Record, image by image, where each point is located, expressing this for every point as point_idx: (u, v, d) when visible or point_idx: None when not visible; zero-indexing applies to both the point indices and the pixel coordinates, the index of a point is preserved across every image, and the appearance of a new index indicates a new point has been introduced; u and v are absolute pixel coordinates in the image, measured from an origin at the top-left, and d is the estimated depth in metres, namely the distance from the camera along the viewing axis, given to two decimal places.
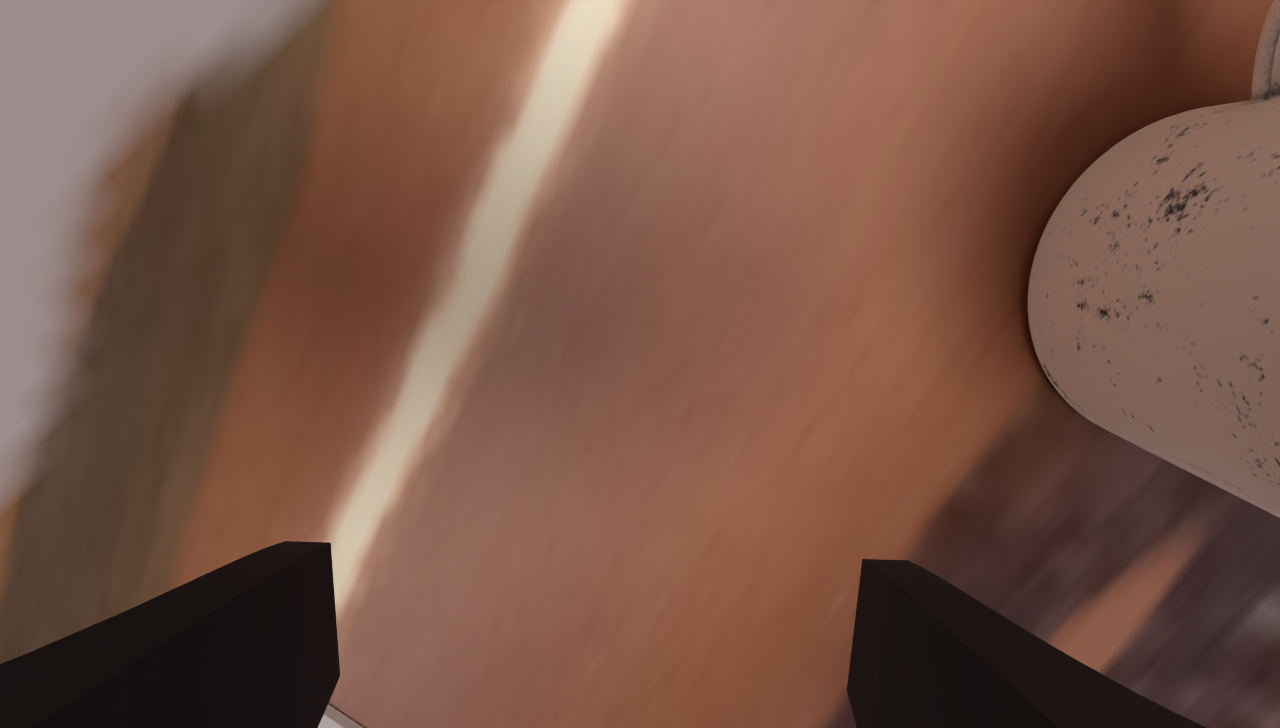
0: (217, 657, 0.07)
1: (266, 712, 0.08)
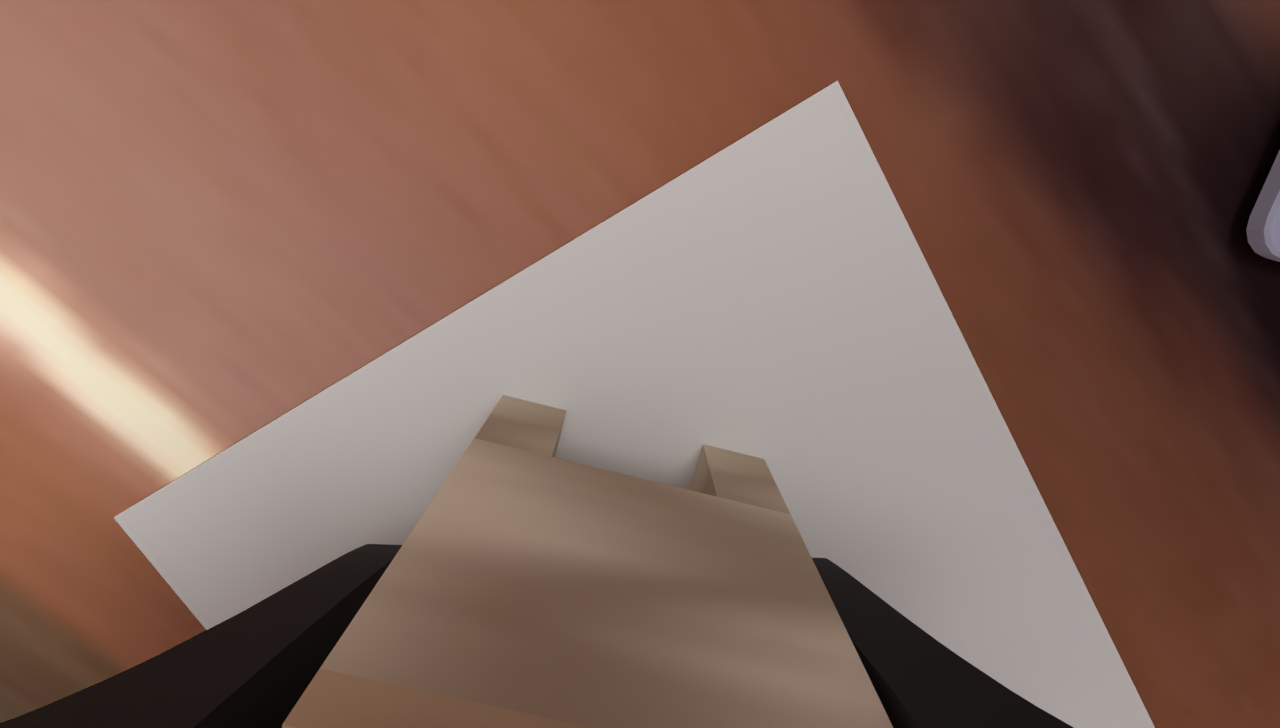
0: None
1: None
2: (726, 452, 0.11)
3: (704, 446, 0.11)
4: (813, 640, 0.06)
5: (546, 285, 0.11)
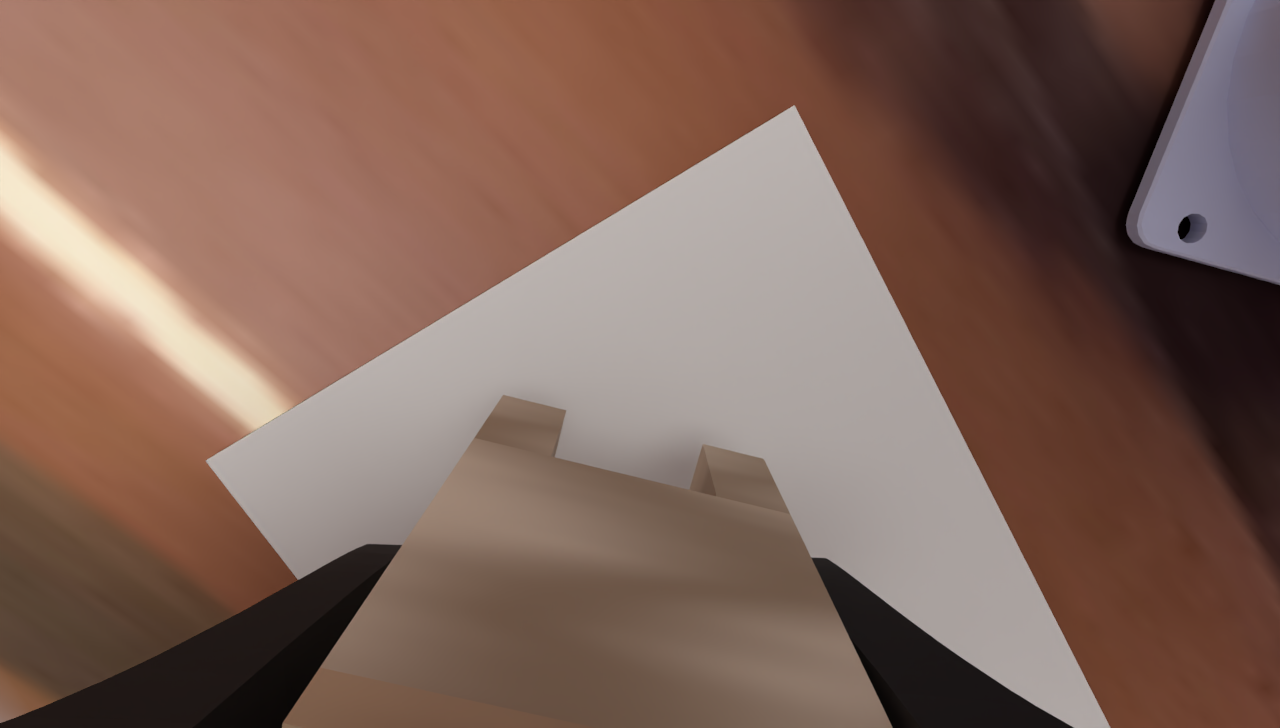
0: None
1: None
2: (726, 452, 0.11)
3: (704, 446, 0.11)
4: (813, 640, 0.06)
5: (561, 269, 0.13)
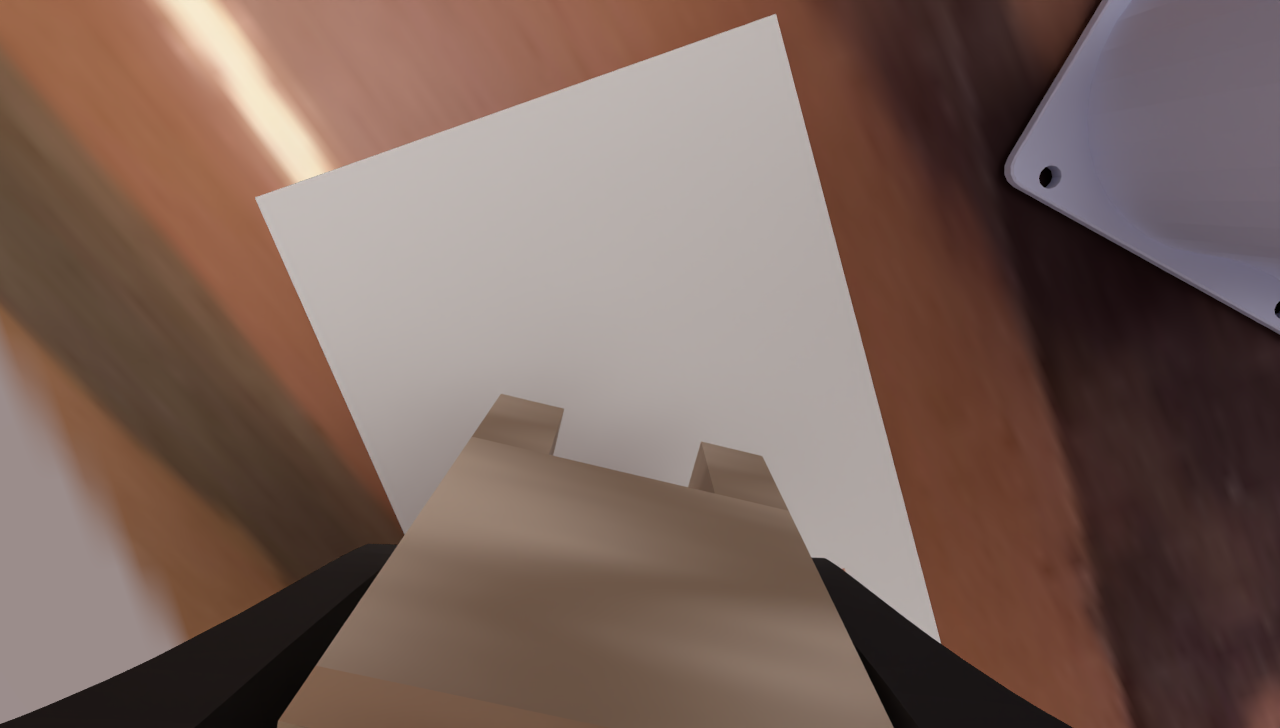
0: None
1: None
2: (724, 449, 0.11)
3: (702, 443, 0.11)
4: (811, 636, 0.06)
5: (572, 103, 0.17)
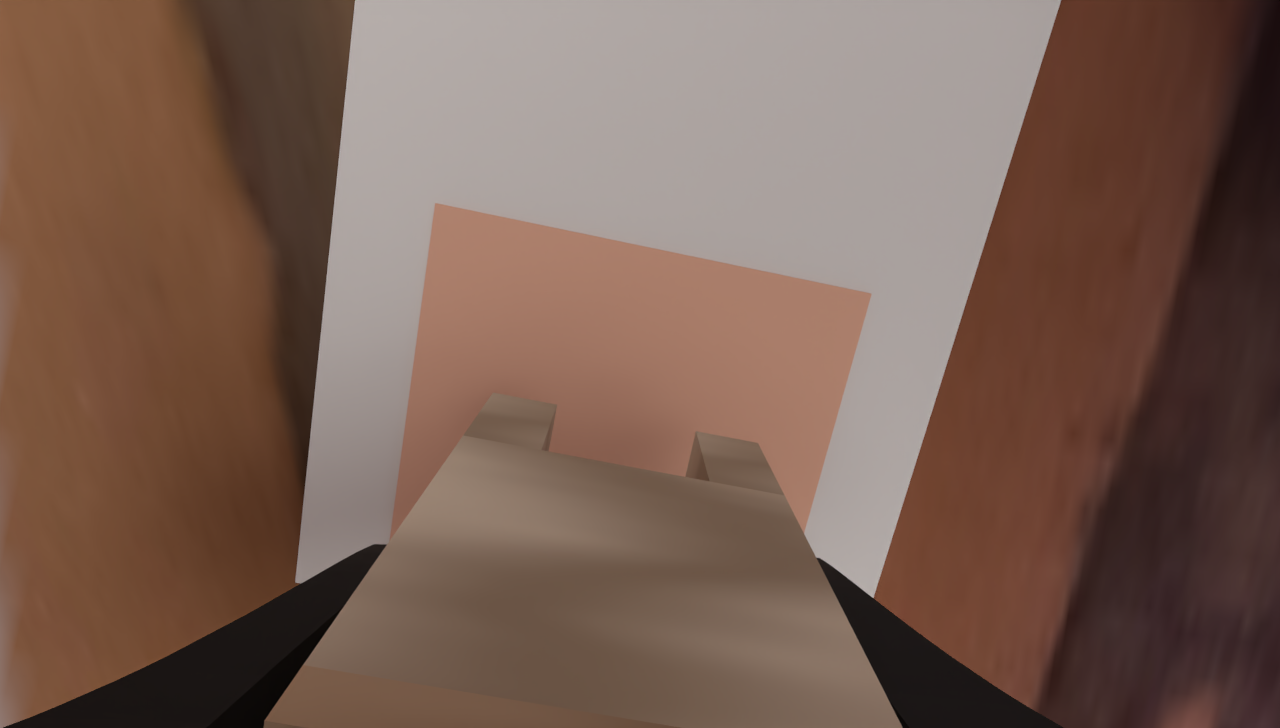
0: None
1: None
2: (719, 438, 0.11)
3: (697, 433, 0.11)
4: (806, 617, 0.06)
5: None
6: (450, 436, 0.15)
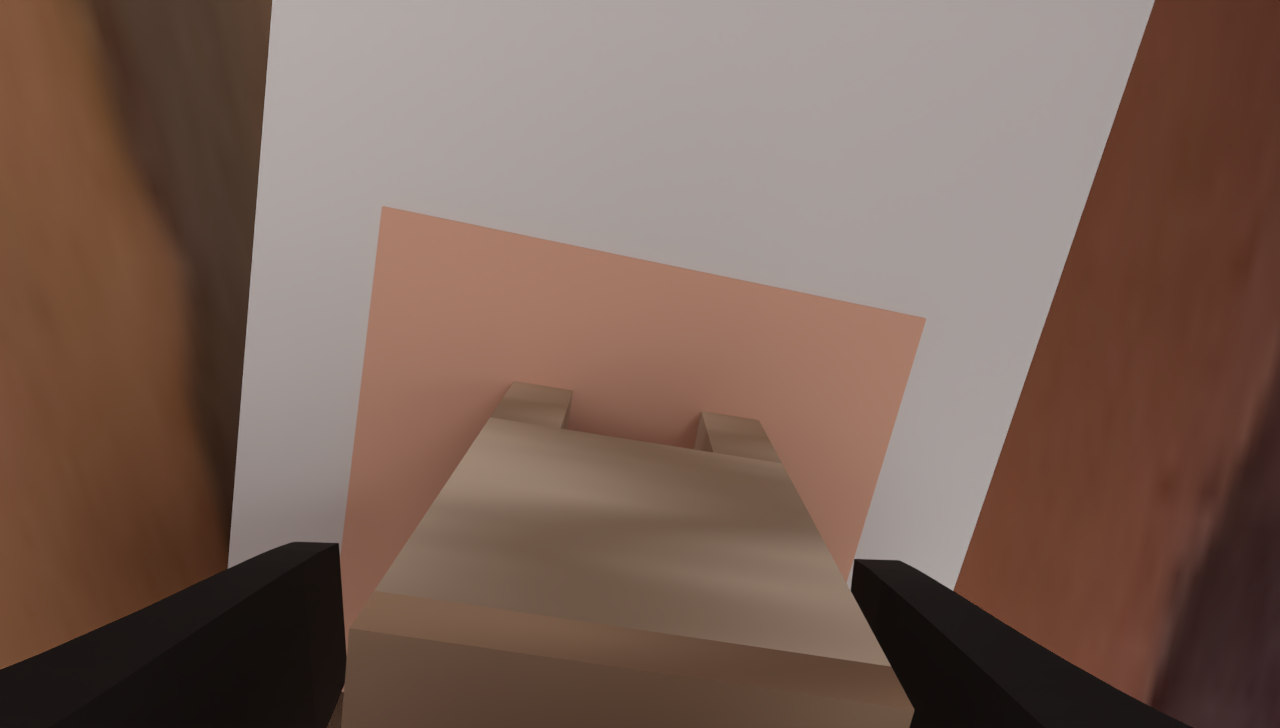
0: (228, 657, 0.07)
1: (276, 712, 0.08)
2: (723, 416, 0.12)
3: (702, 413, 0.12)
4: (797, 557, 0.07)
5: None
6: (406, 492, 0.12)
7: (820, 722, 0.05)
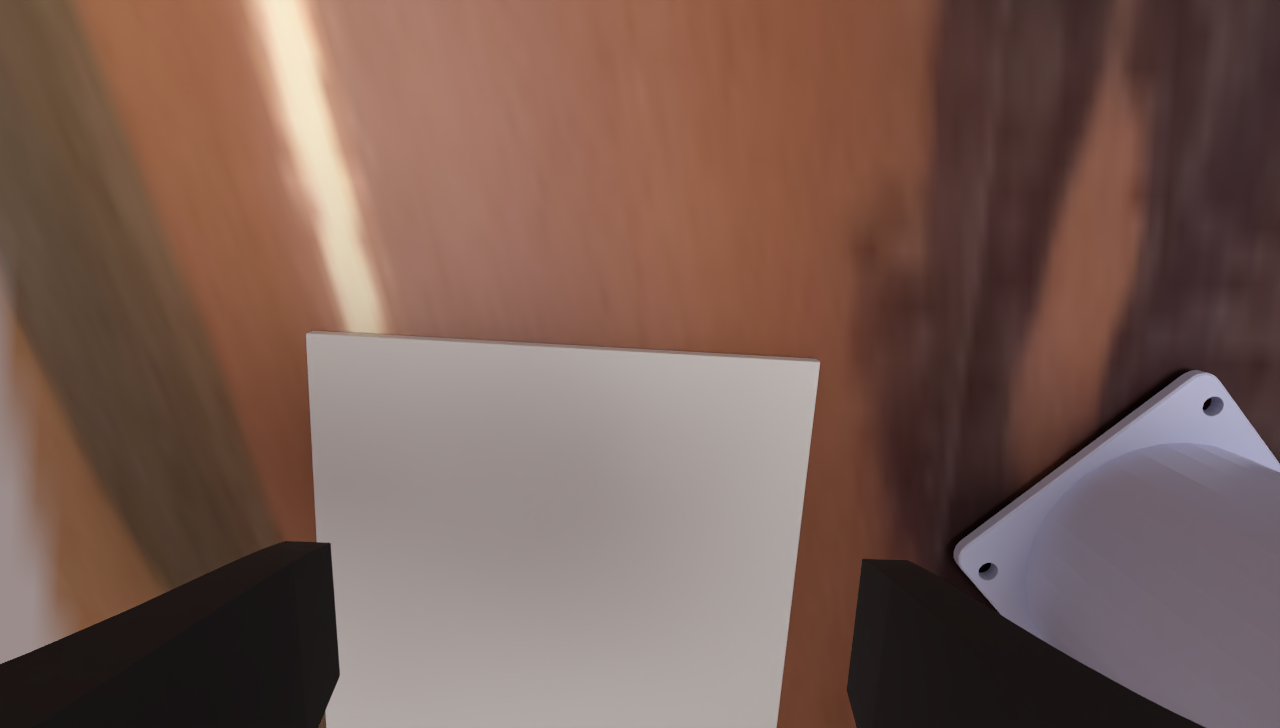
0: (217, 657, 0.07)
1: (266, 712, 0.08)
2: None
3: None
4: None
5: (621, 365, 0.18)
6: None
7: None
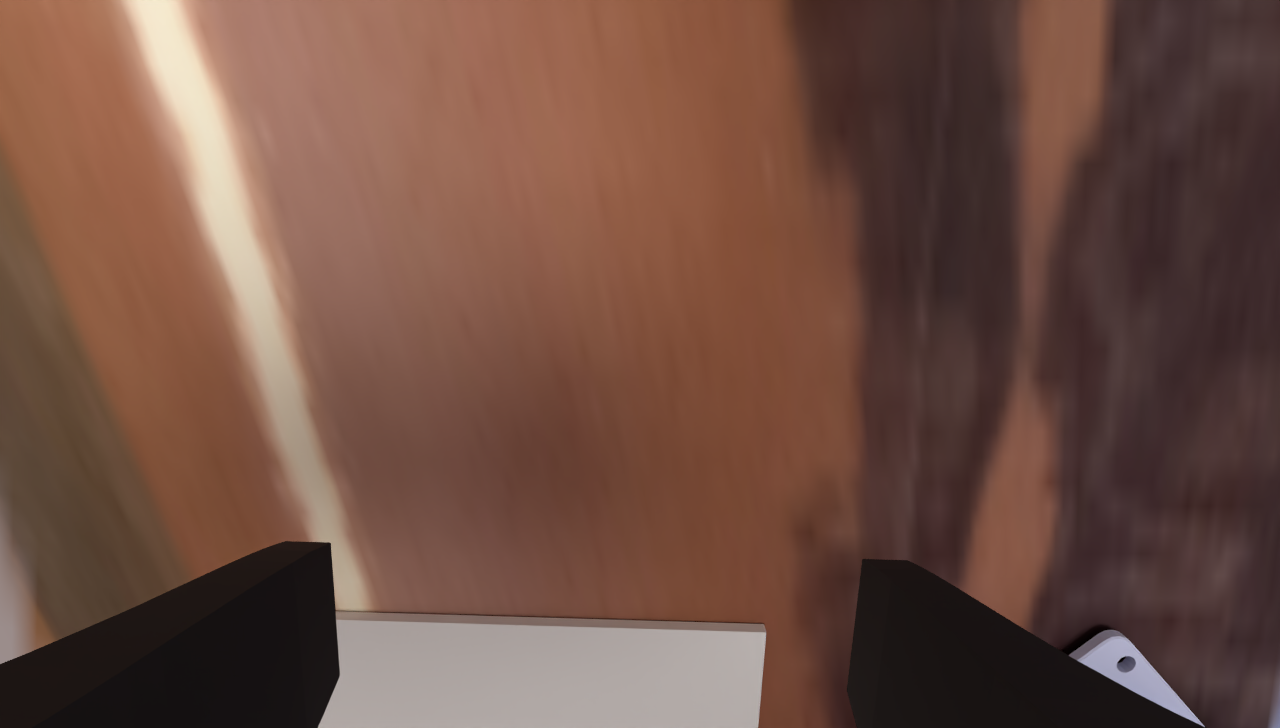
0: (217, 657, 0.07)
1: (266, 712, 0.08)
2: None
3: None
4: None
5: (586, 638, 0.20)
6: None
7: None
